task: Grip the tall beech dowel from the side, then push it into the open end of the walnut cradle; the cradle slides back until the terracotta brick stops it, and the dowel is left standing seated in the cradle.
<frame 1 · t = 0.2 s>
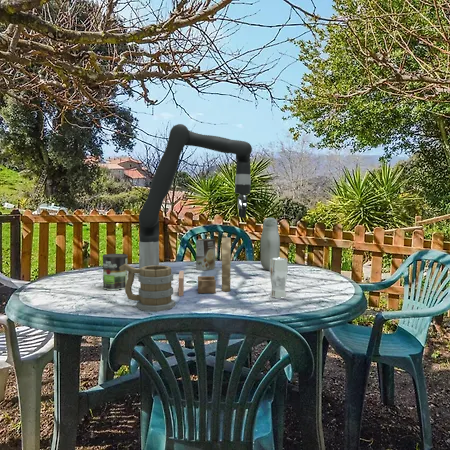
hand: (242, 217, 205), 29 cm above the table, tool pointing down, fingers open, 8 cm apart
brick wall: (181, 291, 174), on the table
grey water bottle: (269, 270, 224), on the table
coffee can: (115, 288, 179), on the table
tankard: (146, 306, 151), on the table
dowel: (226, 290, 175), on the table
cradle: (206, 284, 174), point 3 cm above the table, slide at 0.0 cm
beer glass: (278, 297, 165), on the table
coffee box: (205, 269, 226), on the table
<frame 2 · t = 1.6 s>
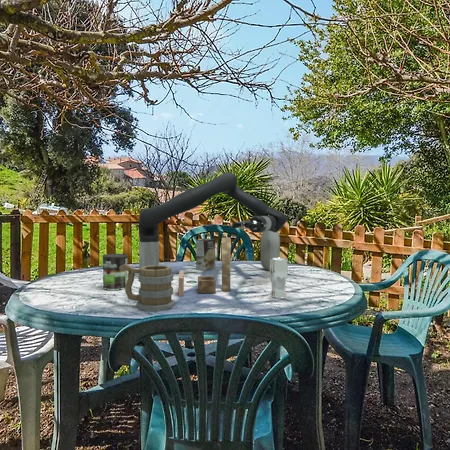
hand: (241, 226, 183), 26 cm above the table, tool horizontal, fingers open, 8 cm apart
nothing on the table moved.
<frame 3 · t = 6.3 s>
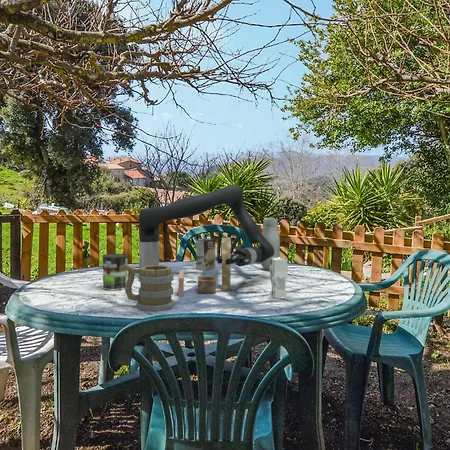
hand: (222, 261, 172), 13 cm above the table, tool horizontal, fingers closed on dowel, 3 cm apart
dowel: (226, 290, 175), on the table, touching gripper
everything else where it was.
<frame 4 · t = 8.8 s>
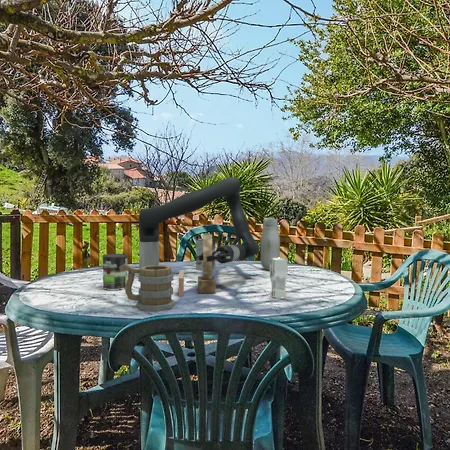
hand: (203, 258, 171), 14 cm above the table, tool horizontal, fingers closed on dowel, 3 cm apart
dowel: (207, 287, 175), point 1 cm above the table, touching gripper
everything else where it was.
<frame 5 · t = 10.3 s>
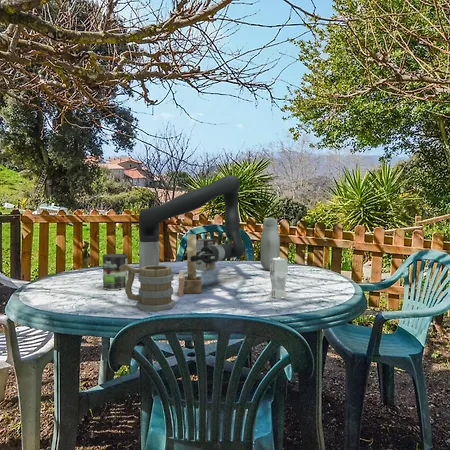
hand: (187, 258, 171), 14 cm above the table, tool horizontal, fingers closed on dowel, 3 cm apart
dowel: (191, 287, 174), point 1 cm above the table, touching cradle, gripper
cradle: (192, 284, 174), point 3 cm above the table, slide at 5.8 cm, touching dowel
everything else where it was.
when the fingers open (13 cm above the table, at t = 11.7 s): dowel stays where it is, on the table.
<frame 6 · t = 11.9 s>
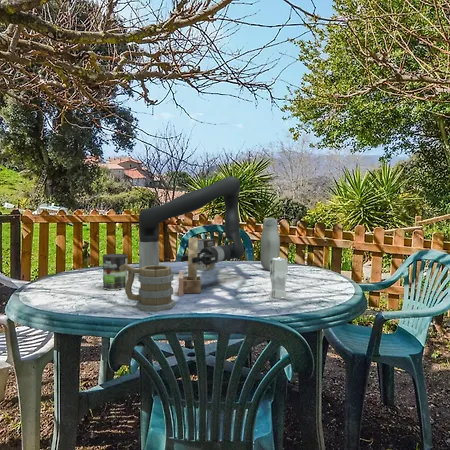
hand: (187, 259, 171), 13 cm above the table, tool horizontal, fingers open, 5 cm apart
dowel: (191, 290, 174), on the table
cradle: (192, 284, 174), point 3 cm above the table, slide at 6.0 cm, touching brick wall
everything else where it was.
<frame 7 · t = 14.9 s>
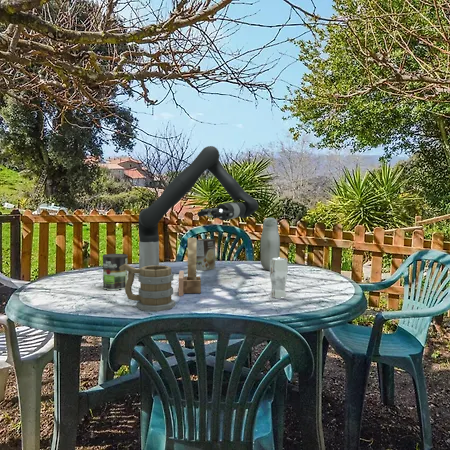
hand: (205, 215, 181), 31 cm above the table, tool horizontal, fingers open, 8 cm apart
nothing on the table moved.
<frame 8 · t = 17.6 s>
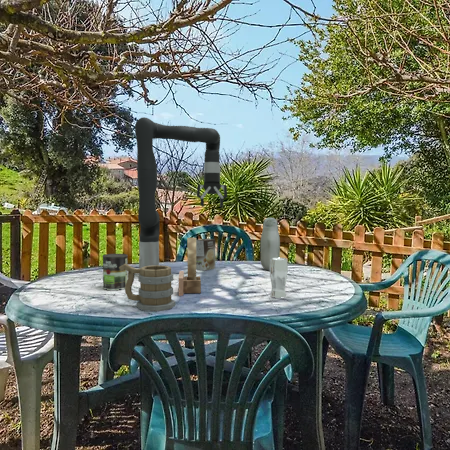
hand: (212, 206, 199), 34 cm above the table, tool pointing down, fingers open, 8 cm apart
nothing on the table moved.
at the end: cradle slide at 6.0 cm; dowel 0.5 cm from the target spot, on the table; dowel tilted 0° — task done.
